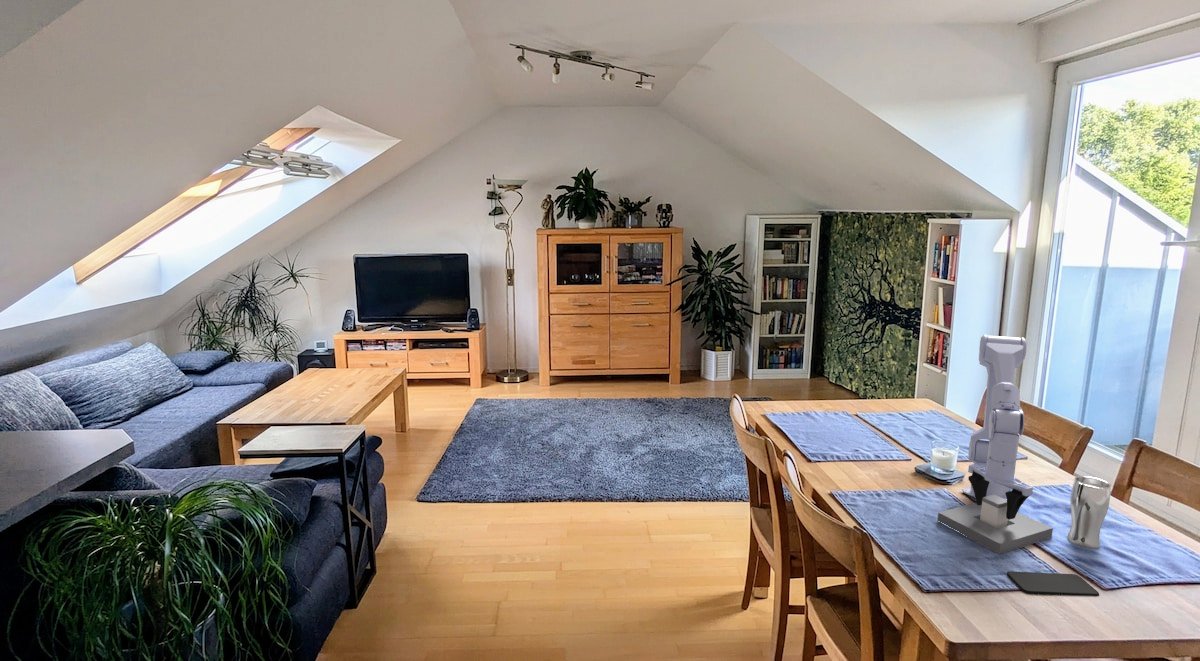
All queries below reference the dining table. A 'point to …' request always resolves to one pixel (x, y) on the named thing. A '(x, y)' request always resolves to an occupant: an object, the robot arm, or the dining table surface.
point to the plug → (994, 511)
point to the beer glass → (1088, 510)
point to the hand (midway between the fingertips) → (995, 511)
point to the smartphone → (1051, 584)
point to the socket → (995, 529)
